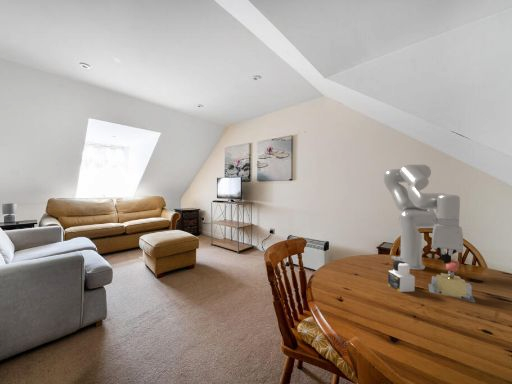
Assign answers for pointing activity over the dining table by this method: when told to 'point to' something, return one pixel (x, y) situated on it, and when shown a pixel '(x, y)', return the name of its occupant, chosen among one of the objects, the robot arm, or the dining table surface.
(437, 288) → the valve
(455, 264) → the lever
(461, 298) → the mat
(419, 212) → the robot arm
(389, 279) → the medicine bottle
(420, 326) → the dining table surface
